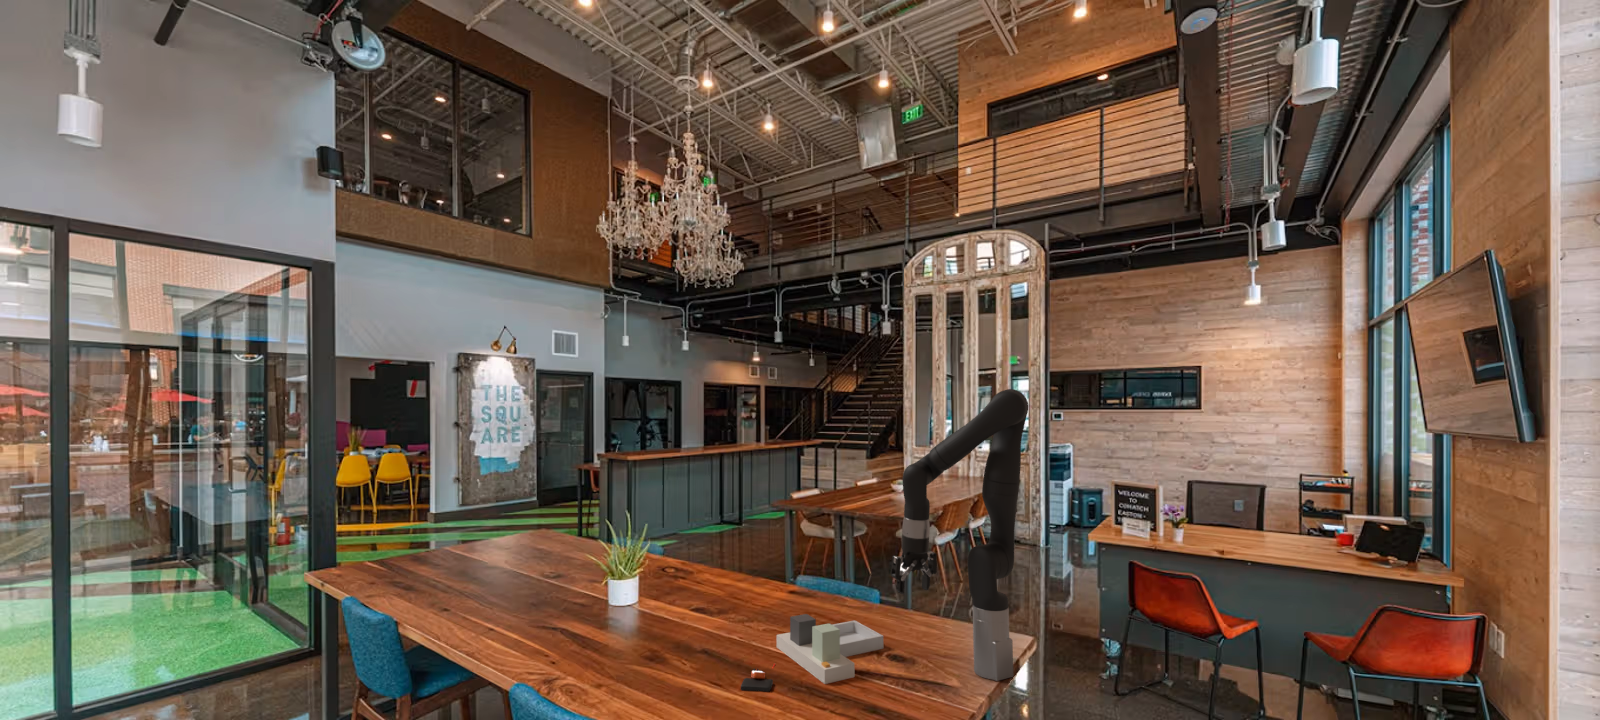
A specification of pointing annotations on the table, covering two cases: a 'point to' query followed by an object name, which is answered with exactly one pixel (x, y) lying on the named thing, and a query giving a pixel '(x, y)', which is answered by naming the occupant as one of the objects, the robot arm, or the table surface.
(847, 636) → the tray
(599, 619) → the table surface
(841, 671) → the flat gray board
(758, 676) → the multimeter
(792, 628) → the block
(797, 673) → the table surface
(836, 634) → the block
